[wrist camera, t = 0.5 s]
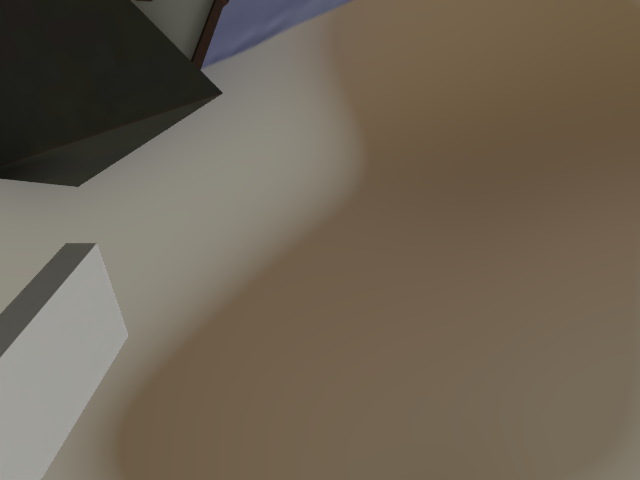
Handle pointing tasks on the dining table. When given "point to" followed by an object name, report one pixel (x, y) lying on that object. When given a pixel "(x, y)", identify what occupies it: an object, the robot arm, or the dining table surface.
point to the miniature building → (96, 80)
